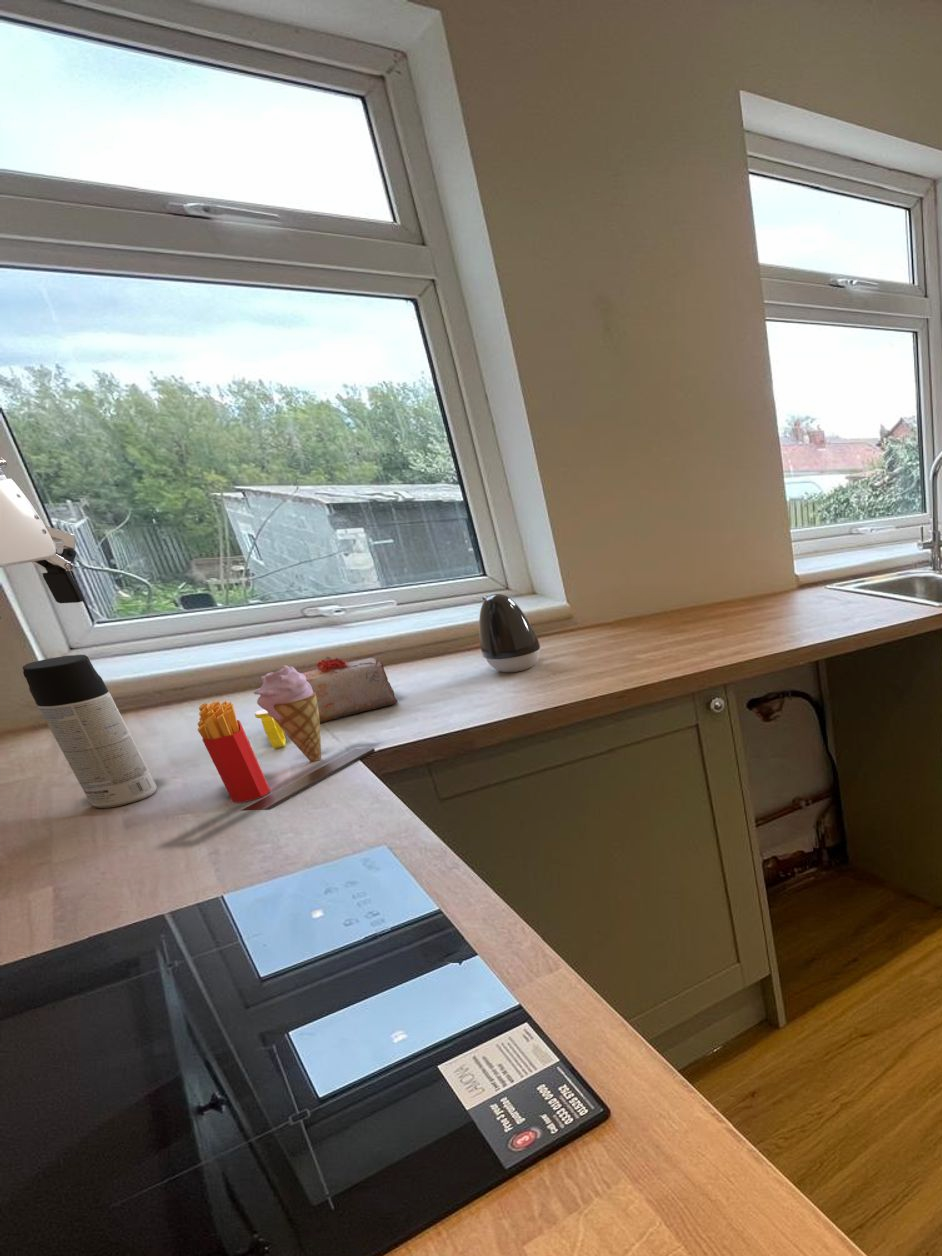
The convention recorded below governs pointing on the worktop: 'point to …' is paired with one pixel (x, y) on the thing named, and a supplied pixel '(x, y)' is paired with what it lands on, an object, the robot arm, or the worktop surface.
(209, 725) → the french fries
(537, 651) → the egg-shaped speaker
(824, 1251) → the worktop surface
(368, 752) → the strip
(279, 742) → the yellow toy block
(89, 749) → the spray can
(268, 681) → the ice cream cone
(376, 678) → the food item
